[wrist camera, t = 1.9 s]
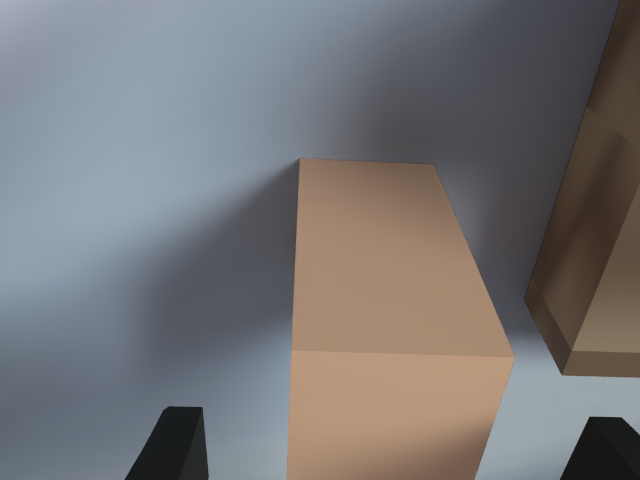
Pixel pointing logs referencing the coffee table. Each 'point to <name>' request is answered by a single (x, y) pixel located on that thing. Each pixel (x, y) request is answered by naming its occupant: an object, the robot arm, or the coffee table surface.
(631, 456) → the robot arm
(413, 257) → the tan peg
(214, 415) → the coffee table surface
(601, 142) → the socket plate
